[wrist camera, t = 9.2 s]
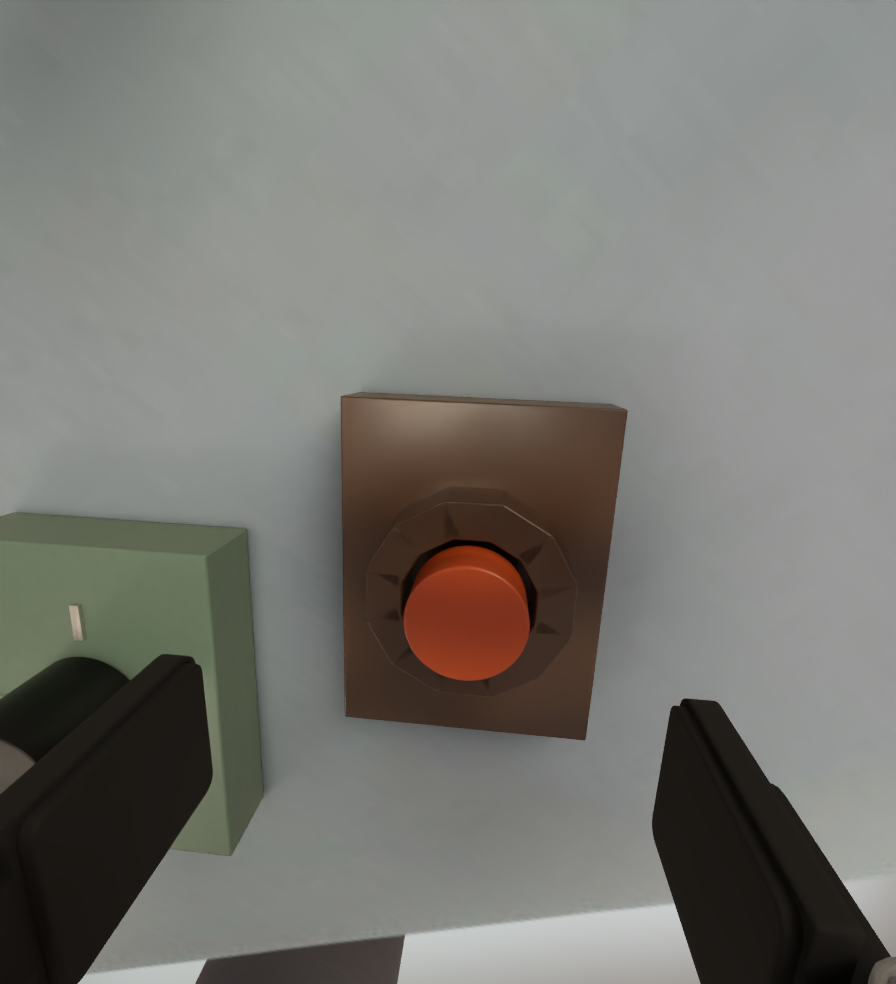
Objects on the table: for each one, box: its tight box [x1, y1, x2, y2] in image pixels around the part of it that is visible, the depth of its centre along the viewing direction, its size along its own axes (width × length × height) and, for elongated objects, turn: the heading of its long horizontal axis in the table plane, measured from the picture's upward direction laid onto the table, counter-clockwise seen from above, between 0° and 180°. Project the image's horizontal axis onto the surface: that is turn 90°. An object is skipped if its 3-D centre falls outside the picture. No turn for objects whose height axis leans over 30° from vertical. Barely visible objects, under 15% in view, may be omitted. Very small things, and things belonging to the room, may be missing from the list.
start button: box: [403, 546, 530, 681], centre depth 15 cm, size 4×4×2 cm
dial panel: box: [0, 513, 263, 856], centre depth 21 cm, size 13×10×3 cm
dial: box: [0, 657, 130, 794], centre depth 17 cm, size 4×4×4 cm
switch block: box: [341, 392, 628, 740], centre depth 18 cm, size 12×9×4 cm
